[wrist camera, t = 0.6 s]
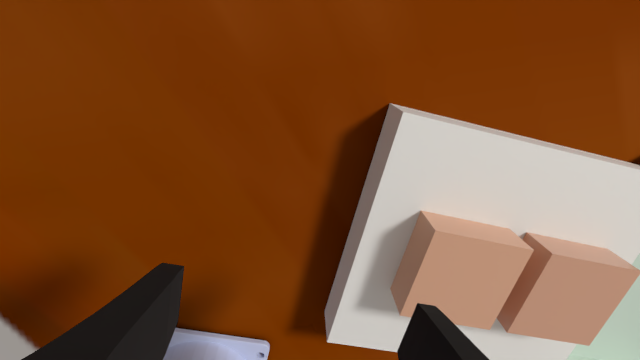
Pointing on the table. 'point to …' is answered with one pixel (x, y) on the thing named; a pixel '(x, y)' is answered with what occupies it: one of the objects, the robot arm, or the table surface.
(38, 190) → the table surface
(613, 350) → the box
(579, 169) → the board
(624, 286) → the tile
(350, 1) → the table surface
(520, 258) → the tile
